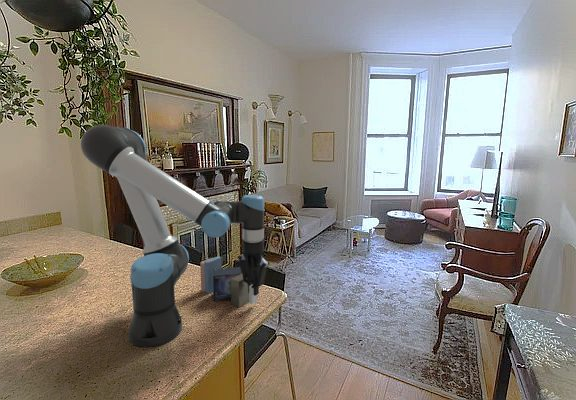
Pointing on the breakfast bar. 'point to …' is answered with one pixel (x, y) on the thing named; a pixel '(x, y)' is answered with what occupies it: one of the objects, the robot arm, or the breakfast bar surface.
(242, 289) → the bookend
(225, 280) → the small box
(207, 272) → the standing books
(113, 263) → the breakfast bar surface
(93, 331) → the breakfast bar surface
